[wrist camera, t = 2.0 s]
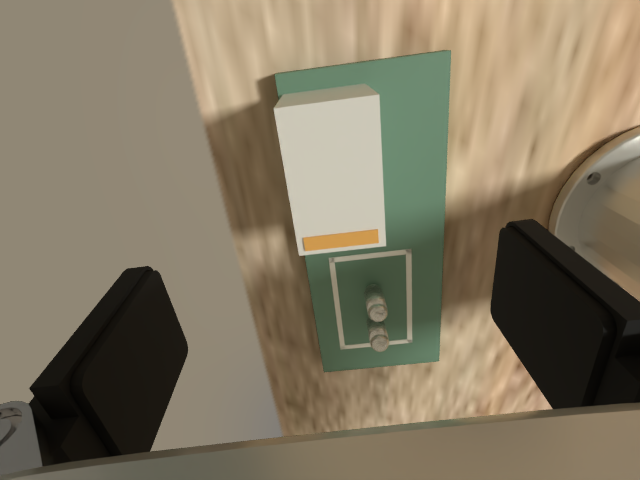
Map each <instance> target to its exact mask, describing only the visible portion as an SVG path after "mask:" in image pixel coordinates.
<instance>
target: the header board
mask: <svg viewBox="0 0 640 480" xmlns="http://www.w3.org/2000/svg"><path fill="white" fill-rule="evenodd" d="M450 65H451V50H442V51H435V52H428V53H420V54H413V55H406V56H399V57H391V58H384V59H377V60H369V61H362V62H355V63H347V64H340V65H333V66H325V67H318V68H311V69H304V70H296V71H289V72H282V73H276V74H275V80H276V86H277V92H278V98H279V100H280V98H281V97H282V95H283V94H289V93H297V92H304V91H312V90H319V89H327V88H334V87H342V86H349V85H357V84H364V83H365V84H366V85H368V86H369V87H370V88H372V89H373V90H374V91H375V92H377V93H378V94H379V98H380V121H381V143H382V165H383V187H384V210H385V232H386V246H383V247H374V248H365V249H356V250H347V251H338V252H329V253H320V254H311V255H305V261H306V267H307V273H308V279H309V285H310V291H311V297H312V303H313V309H314V315H315V321H316V327H317V333H318V339H319V346H320V352H321V358H322V364H323V370H324V372H332V371H342V370H353V369H363V368H374V367H384V366H395V365H405V364H416V363H426V362H436V361H439V351H440V325H441V299H442V273H443V247H444V221H445V195H446V169H447V143H448V117H449V91H450ZM372 284H375V285H378V286H379V287H380V288H381V289H382V291H383V295H384V298H385V302H386V306H387V309H388V315H387V317H386V319H385V320H384V322H385V326H386V330H387V334H388V338H389V346H388V348H387V349H386V350H385V351H383V352H378V351H375V350H374V349H373V348H372V347H371V345H370V340H369V335H368V329H367V324H366V321H367V318H368V317H369V316H368V313H367V307H366V302H365V297H364V291H365V289H366V287H367V286H369V285H372Z"/></svg>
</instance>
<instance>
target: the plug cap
mask: <svg viewBox="0 0 640 480" xmlns="http://www.w3.org/2000/svg"><path fill="white" fill-rule="evenodd" d="M273 109H274V114H275V120H276V126H277V132H278V137H279V143H280V149H281V155H282V160H283V166H284V172H285V178H286V183H287V189H288V195H289V201H290V206H291V212H292V218H293V224H294V229H295V235H296V241H297V247H298V252H299V256H302V255H311V254H320V253H329V252H338V251H347V250H356V249H365V248H374V247H383V246H386V232H385V210H384V187H383V165H382V143H381V121H380V98H379V94H378V93H377V92H375V91H374V90H373V89H372V88H370V87H369V86H368V85H366V84H365V83H364V84H357V85H349V86H342V87H334V88H327V89H319V90H312V91H304V92H297V93H289V94H283V95H282V97H281V98H280V100H279V101H278V103H277V104H276V105H275V107H274V108H273Z"/></svg>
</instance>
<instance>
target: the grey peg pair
mask: <svg viewBox="0 0 640 480" xmlns="http://www.w3.org/2000/svg"><path fill="white" fill-rule="evenodd" d="M364 297H365V302H366V307H367V313H368V316H369V317H368V318H367V321H366V324H367V329H368V335H369V340H370V345H371V347H372V348H373V349H374V350H375V351H378V352H383V351H385V350H386V349H387V348H388V346H389V338H388V334H387V330H386V326H385V322H384V320H385V319H386V317H387V315H388V309H387V306H386V302H385V298H384V295H383V291H382V289H381V288H380V287H379V286H378V285H375V284H372V285H369V286H367V287H366V289H365V291H364Z"/></svg>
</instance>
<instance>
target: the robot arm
mask: <svg viewBox="0 0 640 480" xmlns="http://www.w3.org/2000/svg"><path fill="white" fill-rule="evenodd" d="M623 288H624V289H625V290H626V291H625V290H624V289H623ZM628 292H629V293H630V294H631V295H630V294H629V293H628ZM632 295H633V296H634V297H635V298H634V297H633V296H632ZM637 299H638V300H639V301H638V300H637ZM491 315H492V318H493V320H494V322H495V323H496V325H497V326H498V328H499V329H500V331H501V332H502V334H503V335H504V337H505V338H506V340H507V341H508V343H509V344H510V346H511V347H512V349H513V350H514V352H515V353H516V355H517V356H518V358H519V359H520V361H521V362H522V364H523V365H524V367H525V368H526V370H527V371H528V373H529V374H530V376H531V377H532V378H533V380H534V381H535V383H536V384H537V386H538V387H539V389H540V390H541V392H542V393H543V395H544V396H545V398H546V399H547V401H548V402H549V404H550V405H551V407H552V408H553V409H551V410H539V411H529V412H519V413H509V414H499V415H489V416H479V417H469V418H459V419H449V420H439V421H429V422H419V423H410V424H400V425H391V426H381V427H372V428H362V429H353V430H343V431H334V432H324V433H315V434H306V435H296V436H287V437H278V438H268V439H260V440H250V441H241V442H233V443H224V444H215V445H206V446H197V447H188V448H179V449H170V450H162V451H152V452H150V450H151V448H152V445H153V442H154V440H155V437H156V435H157V432H158V429H159V427H160V424H161V422H162V419H163V416H164V414H165V411H166V409H167V406H168V403H169V401H170V398H171V396H172V393H173V391H174V388H175V385H176V383H177V380H178V378H179V375H180V373H181V370H182V367H183V365H184V362H185V359H186V357H187V353H188V346H187V341H186V339H185V336H184V334H183V331H182V328H181V326H180V323H179V321H178V319H177V316H176V313H175V311H174V308H173V306H172V303H171V301H170V298H169V295H168V293H167V291H166V288H165V285H164V283H163V281H162V278H161V275H160V273H159V272H158V271H156V270H155V271H153V269H152V268H151V267H149V266H145V267H137V268H129V269H126V270H125V271H124V272H123V273H122V274H121V276H120V277H119V278H118V279H117V280H116V282H115V283H114V284H113V286H112V287H111V288H110V289H109V290H108V292H107V293H106V294H105V296H104V297H103V298H102V299H101V300H100V302H99V303H98V304H97V305H96V307H95V308H94V309H93V310H92V311H91V313H90V314H89V315H88V316H87V318H86V319H85V320H84V321H83V323H82V324H81V325H80V326H79V328H78V329H77V330H76V331H75V332H74V334H73V335H72V336H71V337H70V339H69V340H68V341H67V342H66V344H65V345H64V346H63V347H62V349H61V350H60V351H59V352H58V354H57V355H56V356H55V357H54V358H53V360H52V361H51V362H50V363H49V365H48V366H47V367H46V369H45V370H44V371H43V372H42V373H41V375H40V376H39V377H38V378H37V379H36V381H35V382H34V383H33V384H32V386H31V387H30V390H31V392H33V394H34V398H33V399H32V400H31V402H30V403H29V404H28V403H25V402H22V401H11V402H7V403H4V404H0V480H640V127H638V128H635V129H633V130H630V131H628V132H626V133H623V134H621V135H620V136H618V137H616V138H615V139H613V140H611V141H610V142H608V143H606V144H605V145H603V146H602V147H601V148H599V149H598V150H597V151H596V152H594V153H593V154H592V155H591V156H589V157H588V158H587V159H586V160H585V161H584V162H583V163H582V164H581V165H580V166H579V167H578V168H577V169H576V170H575V171H574V173H573V174H572V175H571V177H570V178H569V179H568V181H567V182H566V184H565V185H564V186H563V188H562V189H561V191H560V193H559V195H558V197H557V199H556V201H555V203H554V206H553V209H552V213H551V216H550V219H549V230H547V229H545V228H544V227H543V226H542V225H540V224H539V223H538V222H536V221H535V220H533V219H529V220H521V221H512V222H509V223H507V225H506V228H502V229H501V230H500V234H499V241H498V250H497V258H496V266H495V274H494V283H493V291H492V299H491Z"/></svg>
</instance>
